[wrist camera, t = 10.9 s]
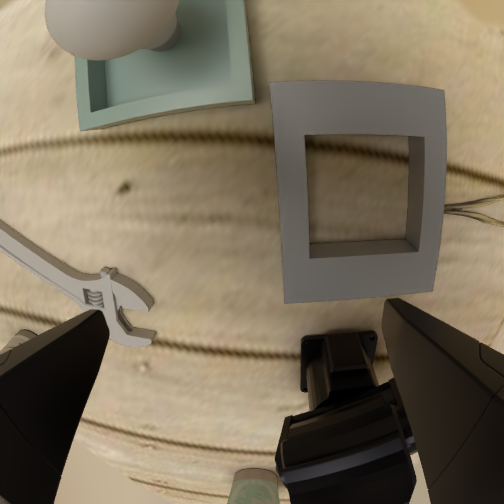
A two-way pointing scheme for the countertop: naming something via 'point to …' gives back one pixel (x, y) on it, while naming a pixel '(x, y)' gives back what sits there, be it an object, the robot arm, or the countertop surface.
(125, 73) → the parts tray
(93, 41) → the lightbulb
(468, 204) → the tongs
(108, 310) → the adjustable wrench
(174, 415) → the countertop surface
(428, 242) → the socket board
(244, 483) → the coffee cup
